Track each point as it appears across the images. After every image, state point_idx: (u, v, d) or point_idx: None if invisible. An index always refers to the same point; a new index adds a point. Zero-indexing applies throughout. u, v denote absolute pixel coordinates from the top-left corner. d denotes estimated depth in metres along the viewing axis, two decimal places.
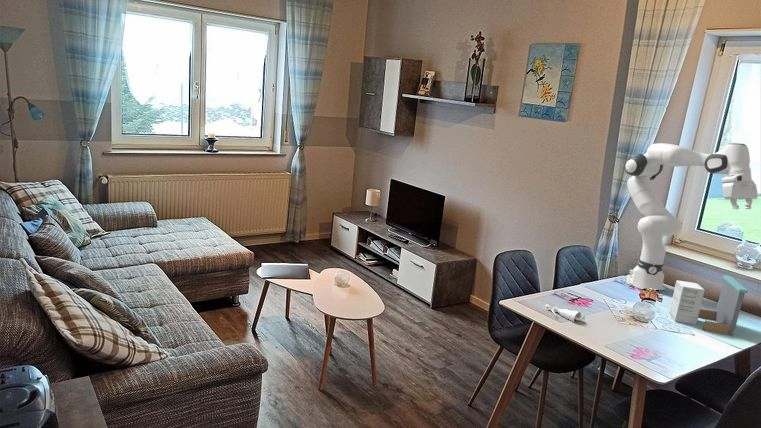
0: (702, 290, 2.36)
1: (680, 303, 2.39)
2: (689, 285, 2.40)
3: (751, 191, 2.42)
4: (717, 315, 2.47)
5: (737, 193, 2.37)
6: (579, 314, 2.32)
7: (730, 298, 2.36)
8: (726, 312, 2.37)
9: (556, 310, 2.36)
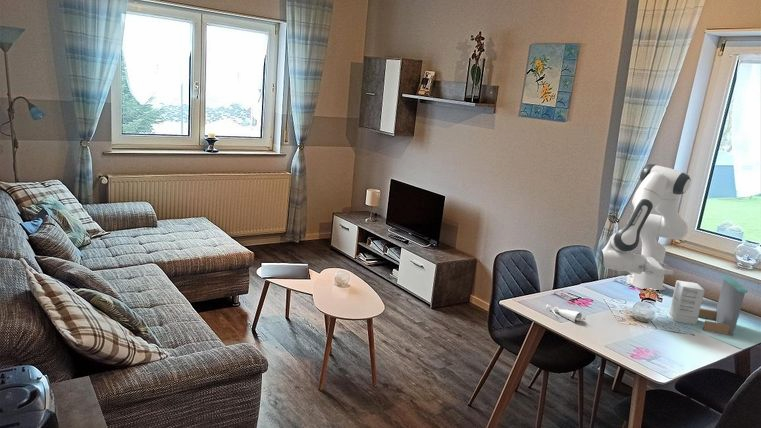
0: (702, 290, 2.36)
1: (680, 303, 2.39)
2: (689, 285, 2.40)
3: None
4: (717, 315, 2.47)
5: None
6: (580, 314, 2.32)
7: (730, 298, 2.36)
8: (726, 312, 2.37)
9: (557, 310, 2.36)
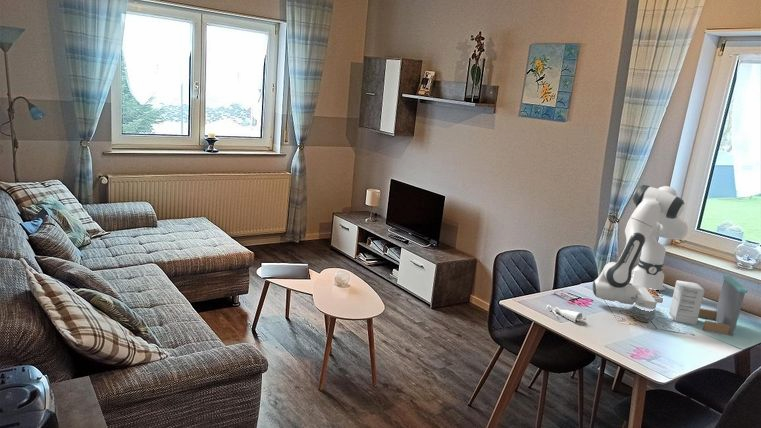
0: (702, 290, 2.36)
1: (680, 303, 2.39)
2: (689, 285, 2.40)
3: None
4: (717, 315, 2.47)
5: None
6: (580, 315, 2.31)
7: (730, 298, 2.36)
8: (726, 312, 2.37)
9: (557, 311, 2.35)
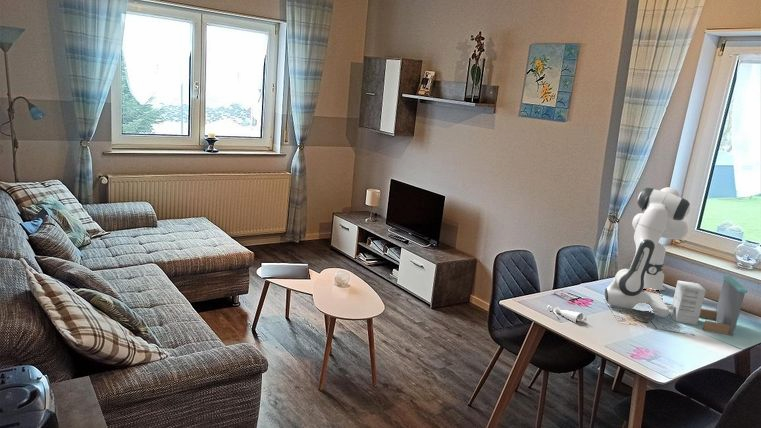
0: (703, 290, 2.36)
1: (681, 303, 2.39)
2: (690, 285, 2.40)
3: None
4: (717, 315, 2.47)
5: None
6: (581, 315, 2.31)
7: (730, 298, 2.36)
8: (726, 312, 2.37)
9: (558, 311, 2.35)
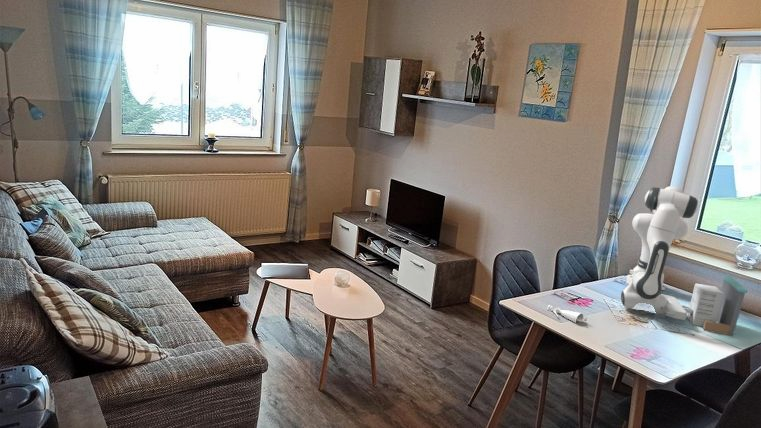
0: (721, 293, 2.34)
1: (698, 306, 2.37)
2: (708, 288, 2.38)
3: None
4: None
5: None
6: (581, 315, 2.31)
7: (730, 298, 2.36)
8: (726, 312, 2.37)
9: (558, 311, 2.35)
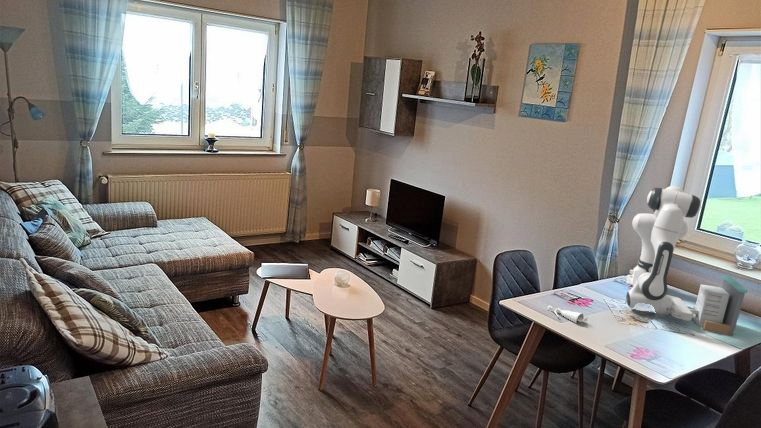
0: (727, 294, 2.34)
1: (704, 307, 2.37)
2: (713, 289, 2.37)
3: None
4: None
5: None
6: (582, 315, 2.31)
7: (730, 298, 2.36)
8: (726, 312, 2.37)
9: (559, 311, 2.35)
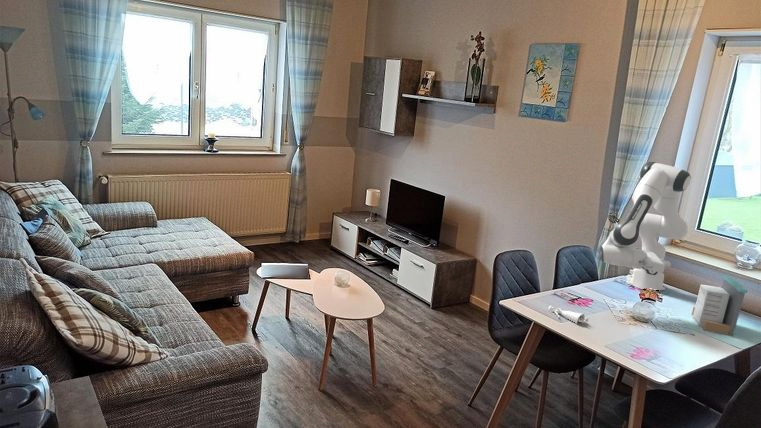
0: (727, 294, 2.34)
1: (704, 307, 2.37)
2: (714, 289, 2.37)
3: None
4: None
5: None
6: (583, 316, 2.30)
7: (730, 298, 2.36)
8: (726, 312, 2.37)
9: (559, 312, 2.34)
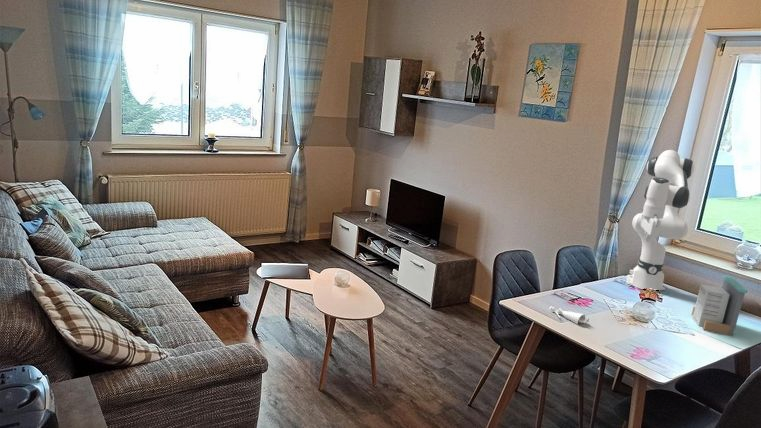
0: (727, 294, 2.34)
1: (704, 307, 2.37)
2: (714, 289, 2.37)
3: (648, 227, 2.46)
4: None
5: (643, 223, 2.56)
6: (583, 316, 2.30)
7: (730, 298, 2.36)
8: (726, 312, 2.37)
9: (560, 312, 2.34)
